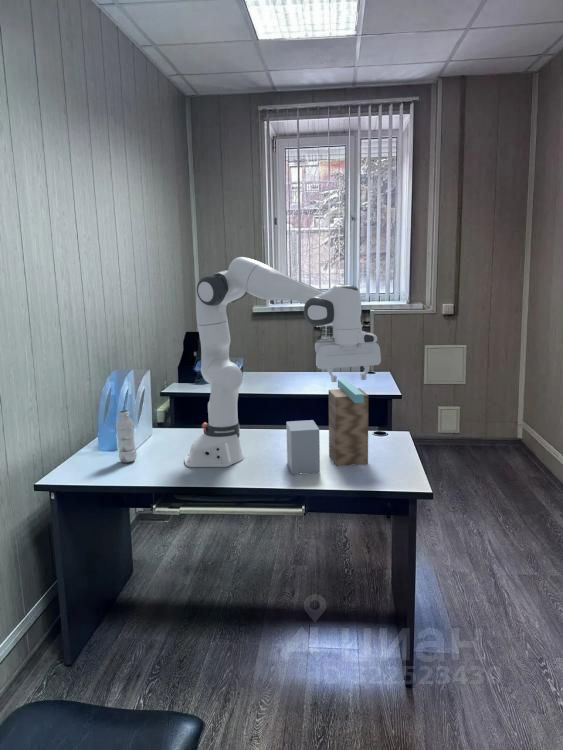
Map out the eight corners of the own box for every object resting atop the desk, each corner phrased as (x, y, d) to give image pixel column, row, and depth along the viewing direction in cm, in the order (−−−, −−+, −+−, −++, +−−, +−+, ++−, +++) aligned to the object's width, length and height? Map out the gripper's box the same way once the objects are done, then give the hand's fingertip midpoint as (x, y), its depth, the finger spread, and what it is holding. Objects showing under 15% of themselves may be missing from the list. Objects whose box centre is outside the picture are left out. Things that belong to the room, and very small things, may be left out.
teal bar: (355, 403, 184) (355, 394, 183) (337, 386, 209) (337, 379, 209) (363, 402, 184) (363, 394, 184) (345, 386, 210) (345, 378, 209)
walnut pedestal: (336, 466, 198) (335, 397, 193) (329, 455, 210) (328, 389, 205) (367, 464, 200) (368, 395, 195) (359, 453, 211) (359, 388, 206)
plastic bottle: (140, 461, 209) (136, 410, 205) (124, 466, 204) (120, 414, 200) (131, 457, 213) (127, 408, 209) (115, 462, 208) (111, 411, 205)
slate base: (291, 474, 191) (291, 431, 188) (287, 462, 203) (286, 421, 200) (319, 472, 193) (319, 429, 190) (313, 461, 204) (313, 420, 201)
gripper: (316, 340, 164) (317, 385, 167) (382, 336, 166) (382, 380, 169) (312, 337, 170) (314, 380, 173) (376, 333, 172) (377, 376, 175)
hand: (348, 380), depth 171 cm, fingers open, 8 cm apart
